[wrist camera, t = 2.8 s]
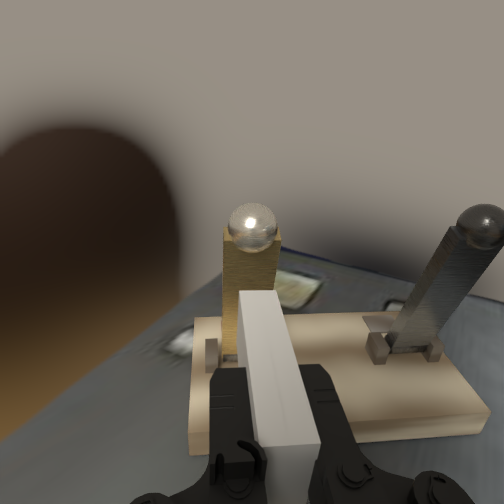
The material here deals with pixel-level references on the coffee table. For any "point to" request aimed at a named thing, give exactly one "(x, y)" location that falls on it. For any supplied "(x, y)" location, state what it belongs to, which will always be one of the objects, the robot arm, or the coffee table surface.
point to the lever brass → (246, 264)
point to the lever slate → (448, 278)
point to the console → (355, 378)
